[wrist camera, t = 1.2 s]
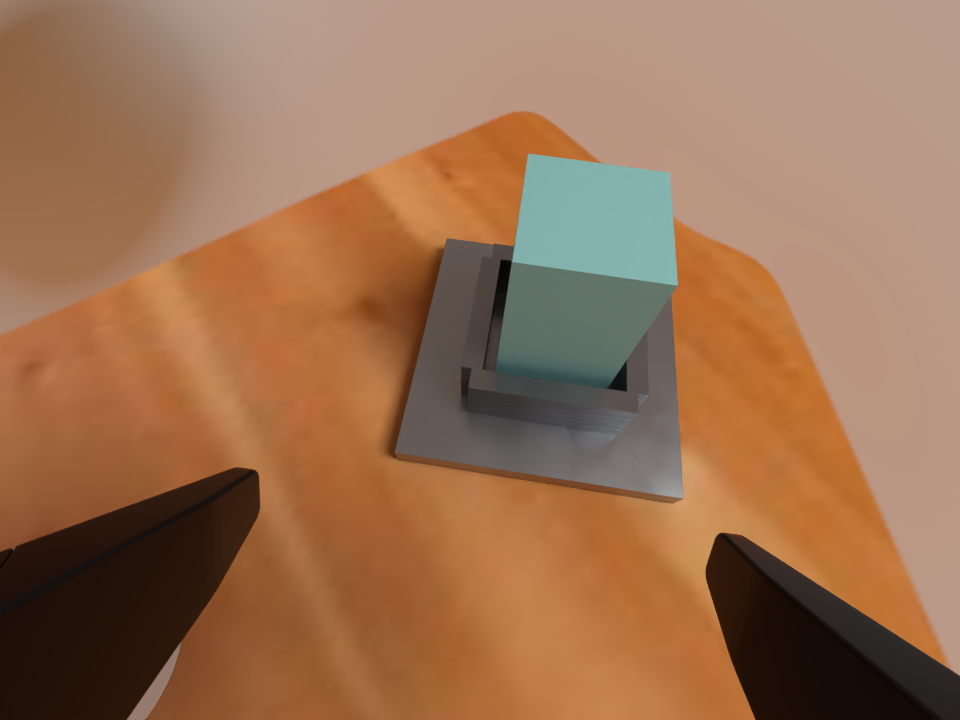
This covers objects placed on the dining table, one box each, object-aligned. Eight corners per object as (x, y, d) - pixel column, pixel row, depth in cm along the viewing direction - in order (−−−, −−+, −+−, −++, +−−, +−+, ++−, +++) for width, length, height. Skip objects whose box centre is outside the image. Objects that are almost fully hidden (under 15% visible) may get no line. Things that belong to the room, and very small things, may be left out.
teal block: (596, 403, 24) (677, 285, 15) (492, 387, 24) (512, 261, 15) (599, 316, 26) (669, 172, 18) (505, 302, 27) (528, 153, 18)
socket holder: (673, 503, 23) (714, 484, 19) (397, 459, 23) (385, 431, 20) (662, 281, 29) (691, 235, 26) (447, 251, 30) (445, 201, 26)
